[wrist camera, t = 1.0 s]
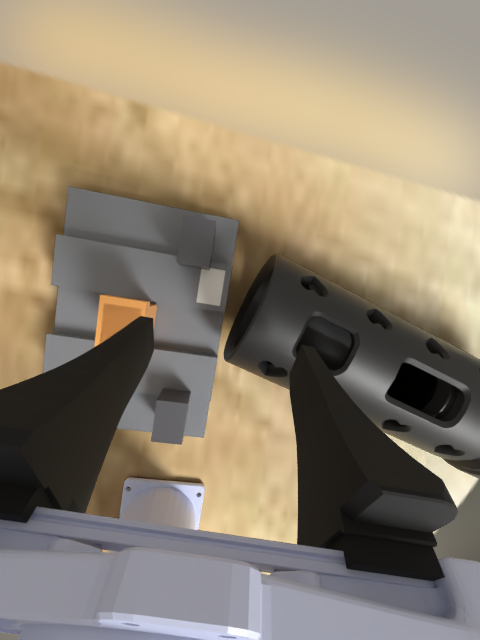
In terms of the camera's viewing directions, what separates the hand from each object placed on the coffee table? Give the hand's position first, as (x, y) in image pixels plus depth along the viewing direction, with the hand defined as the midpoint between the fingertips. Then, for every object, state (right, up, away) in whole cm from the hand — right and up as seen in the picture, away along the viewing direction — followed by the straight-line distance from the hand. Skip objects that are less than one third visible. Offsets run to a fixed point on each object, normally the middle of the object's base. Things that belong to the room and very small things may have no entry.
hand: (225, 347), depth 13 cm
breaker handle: (-8, +1, +10) cm, 13 cm away
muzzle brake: (+13, -3, +15) cm, 20 cm away
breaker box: (-8, +1, +12) cm, 15 cm away
